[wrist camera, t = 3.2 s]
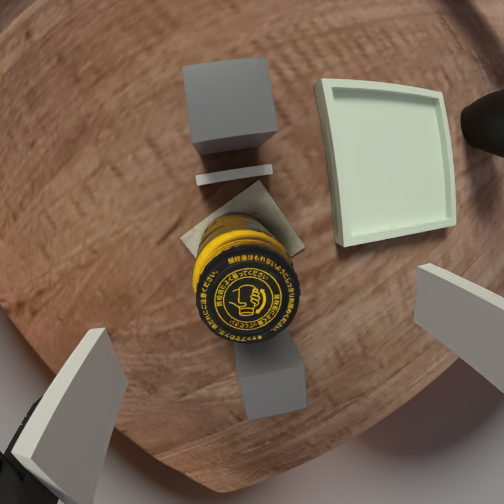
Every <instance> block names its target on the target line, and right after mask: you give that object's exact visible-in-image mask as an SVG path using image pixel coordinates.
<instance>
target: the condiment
mask: <svg viewBox="0 0 504 504" xmlns="http://www.w3.org/2000/svg"><path fill="white" fill-rule="evenodd" d="M248 213H251V215H250V214H248ZM253 213H256V214H253ZM180 239H181V240H182V242H183V243H184V244H185V245H186V247H187V248H188V249H189V250H190V252H191V253H192V254H193V255H194V257H195V258H196V260H195V263H194V266H193V281H192V284H193V289H194V293H195V296H196V305H197V308H198V310H199V315H200V317H201V319H202V321H203V322H204V323H205V324H206V325H207V326H208V328H209V329H210V330H211V331H212V332H213V333H214V334H216V335H217V336H220V337H222V338H224V339H225V340H228V341H231V342H237V343H244V344H251V343H257V342H261V341H265V340H268V339H271V338H273V337H274V336H276V335H277V334H278V333H280V332H281V331H283V330H284V329H285V328H286V327H287V326H288V325H289V324H290V322H291V321H292V320H293V318H294V316H295V314H296V312H297V308H298V303H299V296H300V294H301V293H300V288H299V286H300V283H299V281H298V277H297V274H296V273H295V271H294V268H293V263H292V260H291V258H290V257H292V256H293V255H295V254H296V253H298V252H299V251H300V250H302V249H303V248H304V247H305V246H304V244H303V243H302V241H301V240H300V238H299V237H298V235H297V234H296V232H295V231H294V229H293V228H292V227H291V225H290V223H289V222H288V221H287V219H286V218H285V216H284V215H283V213H282V212H281V210H280V209H279V208H278V206H277V204H276V203H275V202H274V200H273V199H272V197H271V196H270V194H269V193H268V192H267V190H266V189H265V187H264V186H263V184H262V183H261V181H260V180H258V181H257V182H255V183H254V184H252V185H251V186H250V187H248V188H247V189H245V190H244V191H243V192H241V193H240V194H238V195H237V196H236V197H234V198H233V199H231V200H230V201H229V202H227V203H226V204H224V205H223V206H222V207H220V208H219V209H218V210H216V211H215V212H213V213H212V214H211V215H209V216H208V217H207V218H205V219H204V220H203V221H201V222H200V223H199V224H197V225H196V226H195V227H194V228H192V229H191V230H190V231H188V232H187V233H186V234H184V235H183V236H182V237H181V238H180Z"/></svg>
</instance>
